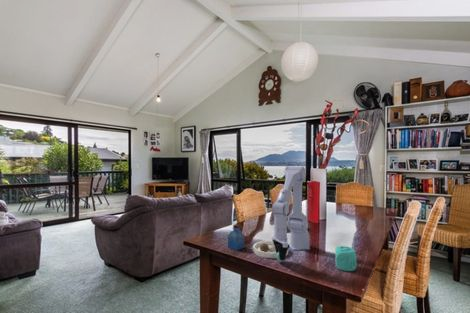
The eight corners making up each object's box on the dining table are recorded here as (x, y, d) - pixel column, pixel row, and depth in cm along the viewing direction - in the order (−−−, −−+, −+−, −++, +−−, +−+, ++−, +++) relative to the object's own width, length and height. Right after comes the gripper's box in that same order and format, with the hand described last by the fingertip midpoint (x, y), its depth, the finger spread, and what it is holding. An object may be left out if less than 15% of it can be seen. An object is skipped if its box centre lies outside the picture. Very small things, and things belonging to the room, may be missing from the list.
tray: (282, 244, 137) (282, 240, 137) (293, 257, 119) (293, 252, 119) (250, 245, 135) (250, 241, 135) (257, 259, 117) (257, 254, 117)
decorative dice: (335, 269, 106) (335, 251, 106) (335, 262, 114) (335, 245, 114) (356, 272, 103) (356, 253, 104) (354, 265, 111) (354, 247, 111)
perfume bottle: (235, 244, 137) (235, 223, 138) (244, 247, 134) (244, 224, 134) (227, 247, 133) (227, 225, 133) (236, 250, 129) (236, 227, 129)
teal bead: (283, 259, 116) (283, 249, 116) (286, 263, 112) (286, 253, 112) (274, 259, 115) (274, 250, 115) (277, 263, 111) (277, 253, 111)
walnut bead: (268, 251, 125) (267, 242, 127) (270, 251, 121) (268, 242, 123) (260, 253, 125) (258, 244, 126) (261, 253, 121) (259, 244, 122)
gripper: (268, 224, 120) (268, 252, 120) (276, 233, 106) (276, 264, 106) (282, 223, 121) (282, 251, 121) (292, 232, 107) (292, 264, 107)
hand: (280, 257), depth 113 cm, fingers closed on teal bead, 4 cm apart
